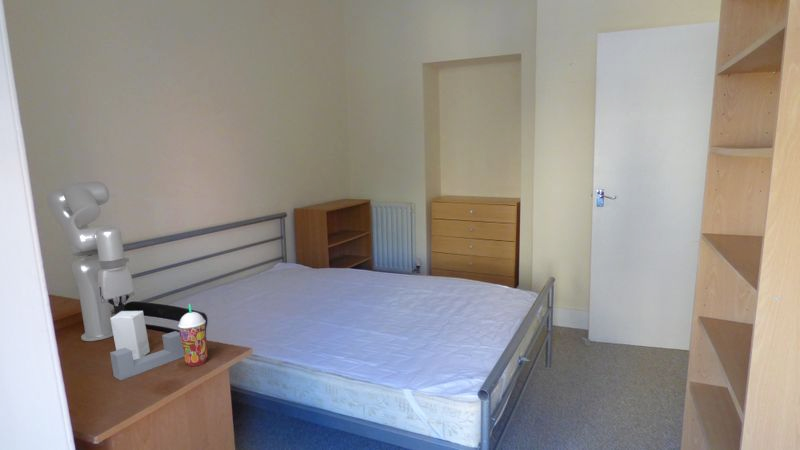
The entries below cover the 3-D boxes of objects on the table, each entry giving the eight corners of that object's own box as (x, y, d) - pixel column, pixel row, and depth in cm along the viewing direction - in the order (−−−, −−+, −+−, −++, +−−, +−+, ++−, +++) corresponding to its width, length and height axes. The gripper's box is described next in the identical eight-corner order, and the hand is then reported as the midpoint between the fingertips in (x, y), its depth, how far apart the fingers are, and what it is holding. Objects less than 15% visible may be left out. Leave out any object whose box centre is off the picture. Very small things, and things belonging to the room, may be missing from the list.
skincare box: (150, 352, 177) (145, 310, 173) (139, 361, 170) (133, 317, 167) (127, 351, 177) (122, 309, 174) (115, 360, 171) (109, 317, 168)
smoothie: (177, 365, 165) (169, 307, 161) (198, 355, 172) (191, 299, 169) (195, 370, 161) (187, 309, 157) (215, 359, 168) (208, 301, 165)
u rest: (113, 376, 159) (110, 352, 158) (178, 353, 175) (175, 331, 174) (120, 380, 156) (116, 356, 155) (185, 356, 172) (182, 333, 171)
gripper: (130, 258, 180) (138, 307, 183) (84, 268, 169) (92, 320, 172) (140, 260, 175) (147, 311, 178) (93, 270, 164) (101, 324, 167)
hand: (120, 315), depth 175 cm, fingers closed
